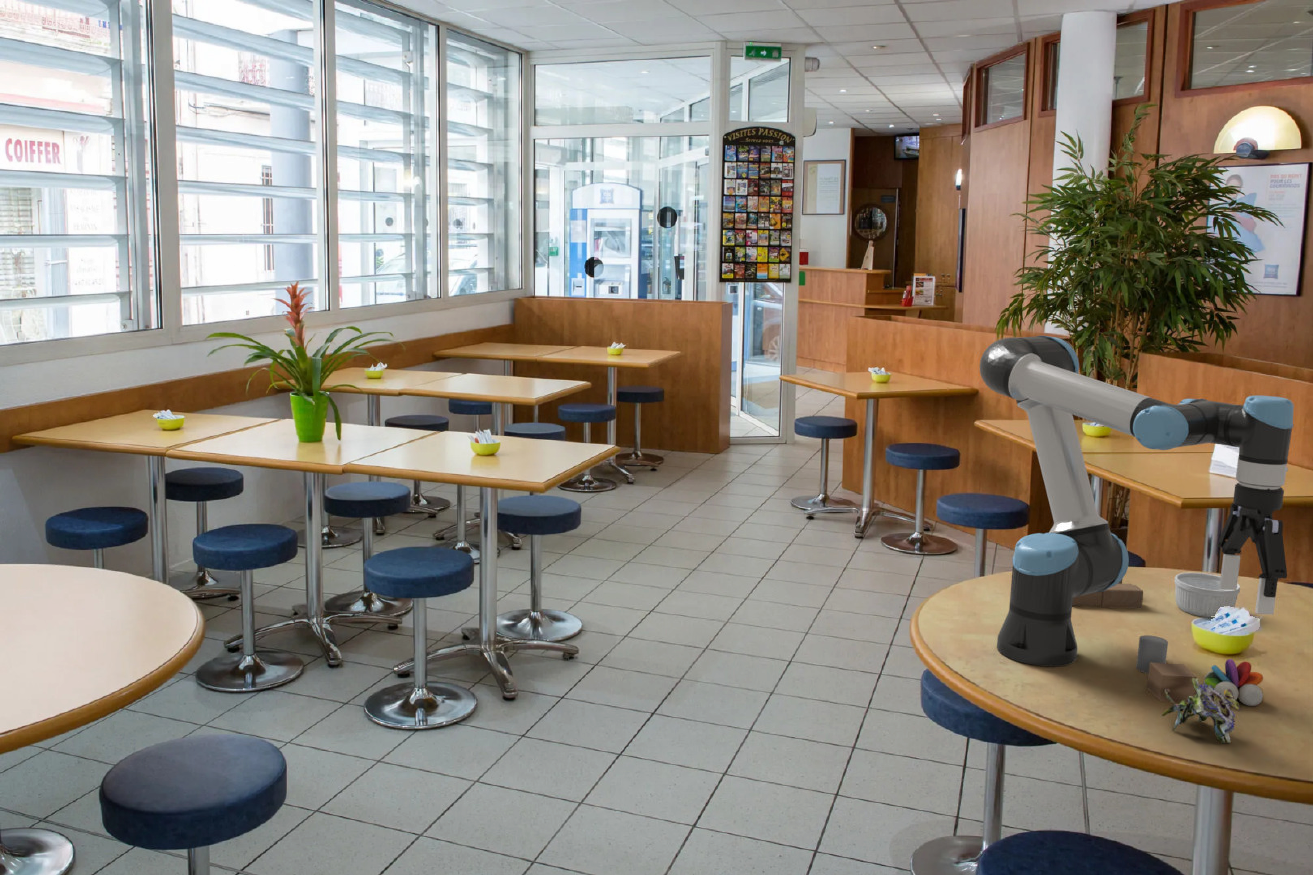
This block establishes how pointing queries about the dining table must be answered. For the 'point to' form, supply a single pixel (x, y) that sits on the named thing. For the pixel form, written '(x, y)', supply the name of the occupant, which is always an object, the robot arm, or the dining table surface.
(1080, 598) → the wooden block set
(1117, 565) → the robot arm
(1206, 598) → the ramekin
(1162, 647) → the grey cylinder
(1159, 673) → the walnut block
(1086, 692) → the dining table surface
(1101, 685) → the dining table surface
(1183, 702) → the passion flower
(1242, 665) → the rainbow cloud toy
